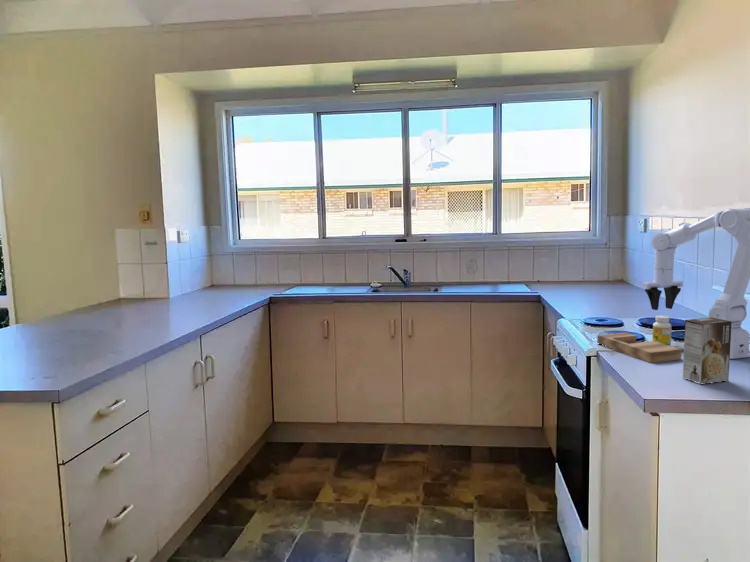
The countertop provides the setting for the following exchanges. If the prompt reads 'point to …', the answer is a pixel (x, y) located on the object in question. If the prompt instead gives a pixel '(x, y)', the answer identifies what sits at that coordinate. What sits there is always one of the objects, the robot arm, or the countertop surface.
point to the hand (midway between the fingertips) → (661, 309)
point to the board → (640, 347)
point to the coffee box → (707, 350)
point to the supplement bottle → (662, 330)
